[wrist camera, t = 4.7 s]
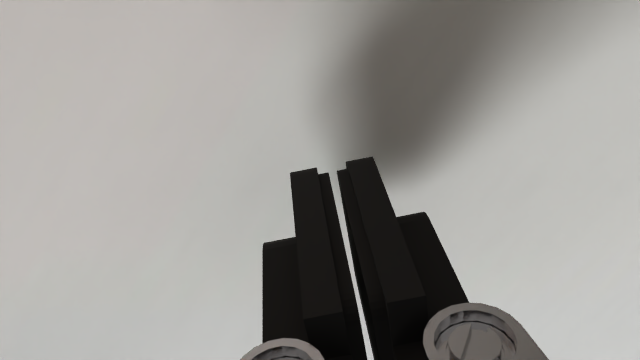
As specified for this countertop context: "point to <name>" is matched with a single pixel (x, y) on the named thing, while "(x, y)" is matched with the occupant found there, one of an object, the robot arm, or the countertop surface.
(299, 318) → the robot arm
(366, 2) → the countertop surface
